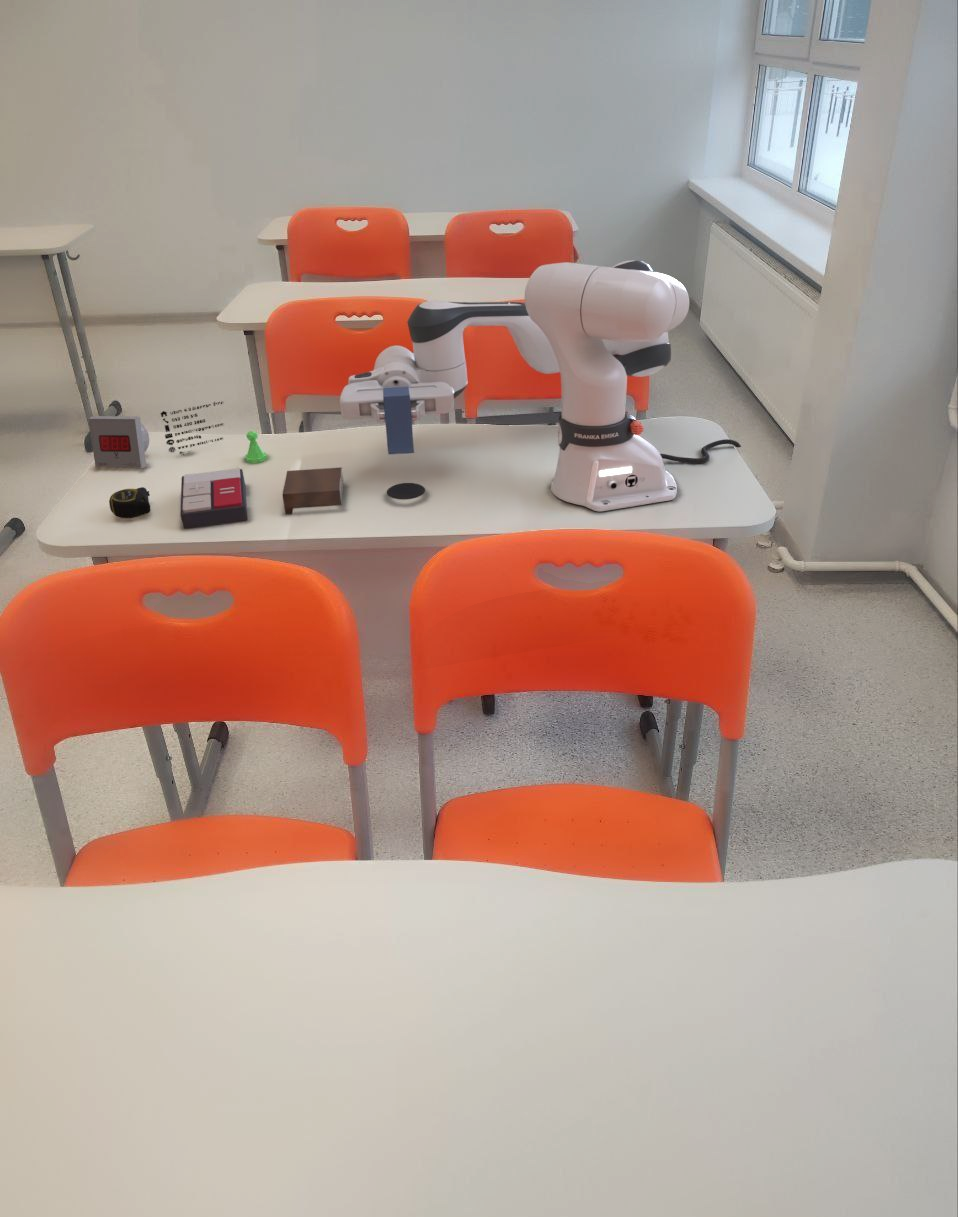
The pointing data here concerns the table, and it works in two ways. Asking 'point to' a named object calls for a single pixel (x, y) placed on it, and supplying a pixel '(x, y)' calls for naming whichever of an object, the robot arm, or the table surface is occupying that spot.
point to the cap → (405, 491)
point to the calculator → (213, 498)
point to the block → (398, 420)
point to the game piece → (254, 449)
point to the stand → (312, 488)
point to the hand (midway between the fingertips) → (398, 417)
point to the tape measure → (130, 503)
